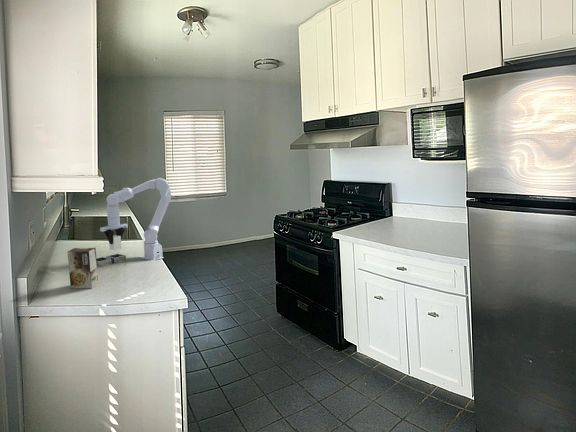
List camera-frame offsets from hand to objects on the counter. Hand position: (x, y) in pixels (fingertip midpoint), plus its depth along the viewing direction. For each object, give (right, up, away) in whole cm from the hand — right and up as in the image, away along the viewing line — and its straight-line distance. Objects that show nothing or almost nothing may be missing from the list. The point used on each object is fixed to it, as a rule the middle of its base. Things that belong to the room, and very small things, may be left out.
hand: (115, 243), depth 202 cm
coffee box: (+4, -16, -37) cm, 41 cm away
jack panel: (-2, -10, -2) cm, 11 cm away
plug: (0, -3, 0) cm, 3 cm away
